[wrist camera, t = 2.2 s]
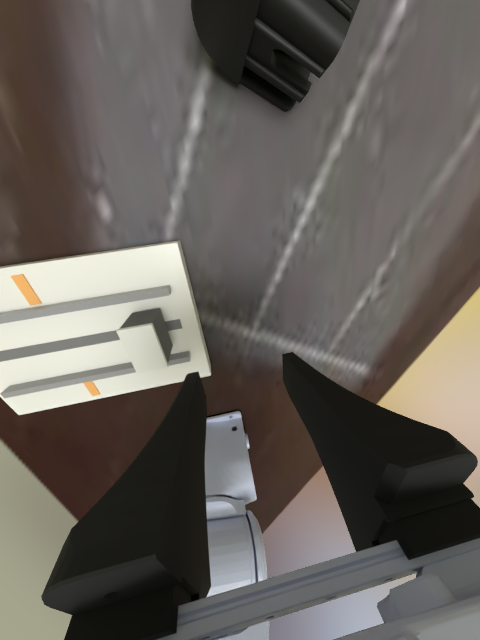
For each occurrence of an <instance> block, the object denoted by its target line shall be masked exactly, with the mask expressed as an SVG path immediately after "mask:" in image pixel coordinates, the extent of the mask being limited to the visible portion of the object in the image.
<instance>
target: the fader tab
mask: <svg viewBox="0 0 480 640" xmlns="http://www.w3.org/2000/svg"><path fill="white" fill-rule="evenodd" d="M116 332H117V334H118V336H119V338H120V340H121V342H122V344H123V346H124V348H125V350H126V352H127V354H128V356H129V358H130V360H131V362H132V364H133V366H134V369H135V371H136V373H137V374H138V373H143V372H148V371H153V370H158V369H163V368H168V362H169V358H170V354H171V350H172V347H173V344H172V341H171V338H170V336H169V333H168V330H167V327H166V324H165V321H164V318H163V315H162V312H161V309H160V308H157V309H151V310H146V311H140V312H134V313H131V315H130V316H129V317H128V318H127V320H126V321H125V322H124V324H123V325H122V326H121V327H120V329H117V331H116Z"/></svg>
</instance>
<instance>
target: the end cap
mask: <svg viewBox="0 0 480 640" xmlns="http://www.w3.org/2000/svg"><path fill="white" fill-rule="evenodd" d="M359 1H360V0H191V9H192V15H193V21H194V24H195V28H196V31H197V34H198V36H199V38H200V40H201V42H202V45H203V46H204V48H205V50H206V51H207V53H208V55H209V56H210V57H211V59H212V60H213V61H214V63H215V64H216V65H217V66H218V67H219V68H220V69H221V70H222V71H223V72H224V73H225V74H226V75H227V76H228V77H229V78H230V79H231V80H233V81H234V82H236V83H237V84H238V85H239V84H240V83H241V84H242V85H244V86H245V87H247V88H249V89H250V90H252V91H253V92H255V93H256V94H258V95H259V96H261V97H263V98H264V99H266V100H267V101H269V102H270V103H272V104H273V105H275V106H277V107H278V108H280V109H281V110H283V111H289V110H291V109H292V107H293V106H294V104H295V103H296V101H297V102H299V103H300V102H301V101H302V99H303V98H304V97H305V96H306V94H307V93H308V92H309V89H310V86H311V84H312V83H311V82H309V81H308V78H309V75H310V72H312V73H313V74H314V75H316V76H317V77H318V78H320V77H321V76H322V74H323V73H324V72H325V71H326V69H327V68H328V67H329V66H330V64H331V63H332V62H333V60H334V59H335V57H336V55H337V53H338V52H339V50H340V48H341V46H342V44H343V41H344V39H345V37H346V34H347V32H348V29H349V27H350V24H351V21H352V19H353V16H354V14H355V11H356V9H357V6H358V3H359Z"/></svg>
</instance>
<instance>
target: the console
mask: <svg viewBox="0 0 480 640" xmlns="http://www.w3.org/2000/svg"><path fill="white" fill-rule="evenodd" d="M157 308H160V309H161V312H162V315H163V318H164V321H165V324H166V327H167V330H168V333H169V336H170V338H171V341H172V344H173V347H172V350H171V354H170V358H169V362H168V368H163V369H158V370H153V371H148V372H143V373H138V374H137V373H136V371H135V369H134V366H133V364H132V362H131V360H130V358H129V356H128V354H127V352H126V350H125V348H124V346H123V344H122V342H121V340H120V338H119V336H118V334H117V332H116V331H117V329H120V327H121V326H122V325H123V324H124V322H125V321H126V320H127V318H128V317H129V316H130V315H131V313H134V312H140V311H146V310H151V309H157ZM193 372H199V375H200V378H201V377H206V376H211V363H210V359H209V355H208V351H207V347H206V343H205V339H204V335H203V331H202V327H201V323H200V319H199V315H198V311H197V307H196V303H195V299H194V295H193V291H192V287H191V283H190V279H189V275H188V271H187V267H186V263H185V259H184V255H183V251H182V246H181V242H180V240H179V241H172V242H165V243H158V244H151V245H144V246H138V247H131V248H124V249H117V250H110V251H103V252H96V253H90V254H83V255H76V256H69V257H62V258H55V259H48V260H42V261H35V262H28V263H21V264H14V265H7V266H0V397H1V398H2V399H3V400H4V401H5V402H6V403H7V404H8V405H9V406H10V407H11V408H12V409H13V410H14V411H15V412H16V413H17V414H18V415H22V414H27V413H32V412H37V411H41V410H46V409H51V408H56V407H61V406H66V405H70V404H75V403H80V402H85V401H90V400H95V399H100V398H104V397H109V396H114V395H119V394H124V393H129V392H133V391H138V390H143V389H148V388H153V387H158V386H162V385H167V384H172V383H177V382H182V381H184V379H185V377H186V375H187V374H188V373H193Z"/></svg>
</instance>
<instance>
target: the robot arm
mask: <svg viewBox="0 0 480 640" xmlns="http://www.w3.org/2000/svg"><path fill="white" fill-rule="evenodd" d="M282 356H283V381H284V384H285V386H286V389H287V391H288V394H289V396H290V398H291V400H292V402H293V404H294V406H295V408H296V409H297V411H298V413H299V415H300V417H301V419H302V421H303V422H304V424H305V426H306V428H307V430H308V432H309V434H310V436H311V438H312V440H313V442H314V445H315V447H316V449H317V452H318V454H319V456H320V459H321V461H322V464H323V466H324V469H325V471H326V473H327V476H328V478H329V481H330V483H331V485H332V488H333V491H334V494H335V496H336V499H337V501H338V504H339V506H340V509H341V512H342V515H343V517H344V520H345V523H346V525H347V528H348V531H349V533H350V536H351V539H352V542H353V544H354V547H355V550H356V552H355V553H352V554H348V555H345V556H342V557H338V558H335V559H332V560H329V561H326V562H322V563H319V564H315V565H312V566H309V567H305V568H302V569H299V570H296V571H293V572H289V573H286V574H282V575H279V576H276V577H272V578H269V579H267V565H266V555H265V548H264V543H263V538H262V533H261V529H260V526H259V523H258V521H257V519H256V518H255V516H254V515H253V513H252V512H251V511H250V510H247V511H246V510H245V505H246V504H248V503H250V502H253V501H255V500H256V499H257V498H256V492H255V487H254V481H253V476H252V471H251V465H250V460H249V455H248V448H250V446H249V441H248V436H247V434H245V433H244V428H243V422H242V417H241V412H240V411H235V412H231V413H226V414H222V415H218V416H213V417H209V418H207V407H206V395H205V392H204V389H203V385H202V382H201V378H200V375H199V372H193V373H188V374H187V375H186V377H185V379H184V382H183V384H182V386H181V388H180V390H179V392H178V394H177V396H176V398H175V400H174V402H173V403H172V405H171V407H170V409H169V411H168V412H167V414H166V416H165V417H164V419H163V421H162V422H161V424H160V425H159V427H158V428H157V430H156V431H155V433H154V434H153V436H152V437H151V439H150V440H149V442H148V443H147V444H146V446H145V447H144V448H143V450H142V451H141V452H140V454H139V455H138V456H137V458H136V459H135V460H134V461H133V463H132V464H131V465H130V466H129V467H128V469H127V470H126V471H125V472H124V473H123V474H122V476H121V477H120V478H119V479H118V480H117V481H116V482H115V484H114V485H113V486H112V487H111V488H110V489H109V490H108V492H107V493H106V494H105V495H104V496H103V497H102V498H101V499H100V500H99V501H98V502H97V503H96V504H95V505H94V506H93V507H92V508H91V509H90V510H89V512H88V513H87V514H86V515H85V516H84V517H83V518H82V519H81V520H80V521H79V522H78V523H77V524H76V525H75V526H74V527H73V528H72V529H71V531H70V533H69V535H68V537H67V539H66V541H65V543H64V545H63V547H62V550H61V552H60V555H59V557H58V559H57V562H56V564H55V566H54V568H53V571H52V573H51V576H50V578H49V580H48V582H47V585H46V587H45V589H44V592H43V594H42V600H43V602H44V604H45V605H46V606H49V607H50V608H53V609H56V610H59V611H62V612H65V613H68V614H71V615H72V618H71V621H70V624H69V627H68V630H67V633H66V636H65V639H64V640H269V633H268V630H269V620H272V619H275V618H278V617H281V616H284V615H287V614H290V613H293V612H297V611H299V610H303V609H306V608H309V607H312V606H315V605H318V604H321V603H325V602H328V601H331V600H334V599H337V598H340V597H343V596H346V595H349V594H353V593H356V592H359V591H362V590H365V589H368V588H371V587H374V586H377V585H381V584H384V583H386V582H390V581H393V580H396V579H399V578H402V577H405V576H408V575H412V574H415V573H417V575H416V578H415V579H413V580H411V581H408V582H406V583H404V584H402V585H400V586H397V587H395V588H393V589H390V594H389V595H388V596H387V597H386V598H384V599H383V600H381V601H380V602H378V605H377V608H378V610H379V612H380V614H381V617H382V619H383V621H384V624H381V625H377V626H374V627H371V628H368V629H365V630H361V631H358V632H355V633H352V634H349V635H346V636H343V637H340V638H337V639H334V640H480V508H479V507H478V506H477V505H476V504H475V503H474V501H473V500H472V499H471V498H473V497H474V495H473V493H472V492H471V491H470V490H469V489H468V488H467V487H466V486H465V485H464V484H463V483H464V482H465V480H466V479H467V478H468V477H469V476H470V475H471V473H472V472H473V471H474V470H475V468H476V466H477V462H478V461H477V458H476V456H475V455H474V454H473V453H472V452H471V451H469V450H468V449H467V448H466V447H465V446H464V445H463V444H461V443H460V442H459V441H457V439H456V438H454V437H453V436H452V435H451V434H450V433H448V432H447V431H444V430H441V429H438V428H436V427H433V426H429V425H427V424H424V423H421V422H418V421H415V420H413V419H410V418H407V417H405V416H402V415H400V414H397V413H395V412H392V411H390V410H387V409H385V408H383V407H380V406H379V405H376V404H374V403H372V402H370V401H368V400H366V399H364V398H362V397H360V396H358V395H356V394H354V393H352V392H350V391H349V390H347V389H345V388H343V387H341V386H340V385H338V384H336V383H335V382H333V381H332V380H330V379H329V378H327V377H326V376H324V375H323V374H321V373H320V372H318V371H317V370H315V369H314V368H313V367H311V366H310V365H309V364H307V363H306V362H305V361H303V360H302V359H301V358H299V357H298V356H297V355H295V354H294V353H293V352H291V353H286V354H282Z"/></svg>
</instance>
